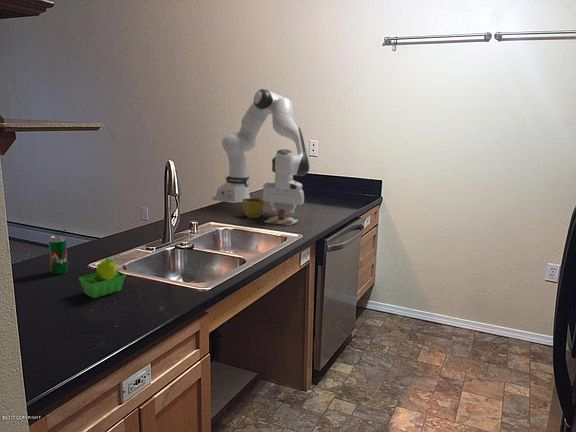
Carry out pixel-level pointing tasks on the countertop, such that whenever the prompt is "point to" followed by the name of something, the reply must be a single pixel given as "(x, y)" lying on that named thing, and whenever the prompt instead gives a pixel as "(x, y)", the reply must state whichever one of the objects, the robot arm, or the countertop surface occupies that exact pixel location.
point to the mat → (284, 224)
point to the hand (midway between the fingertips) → (282, 212)
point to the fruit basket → (103, 280)
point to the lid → (281, 218)
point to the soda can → (58, 255)
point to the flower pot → (253, 207)
